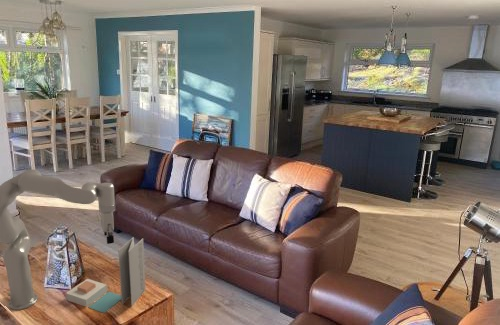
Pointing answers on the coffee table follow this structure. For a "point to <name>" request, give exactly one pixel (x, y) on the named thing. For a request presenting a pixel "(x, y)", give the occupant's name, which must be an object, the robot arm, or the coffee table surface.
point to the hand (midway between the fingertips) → (109, 239)
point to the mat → (105, 302)
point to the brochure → (132, 270)
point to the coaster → (86, 287)
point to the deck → (85, 298)
